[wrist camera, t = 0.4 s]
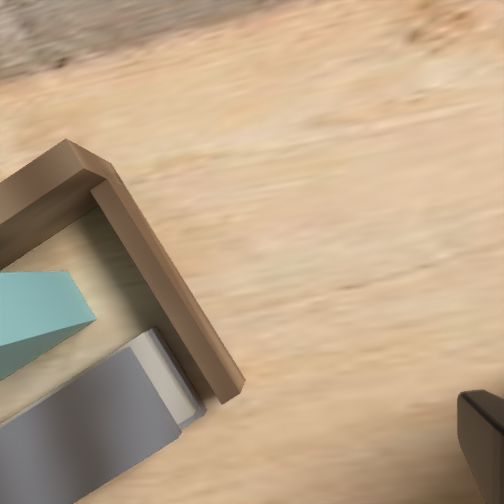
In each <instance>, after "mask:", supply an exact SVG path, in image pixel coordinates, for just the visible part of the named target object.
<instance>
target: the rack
mask: <svg viewBox="0 0 504 504" xmlns="http://www.w3.org/2000/svg"><path fill="white" fill-rule="evenodd" d="M98 205H99V206H100V208H101V209H102V211H103V212H104V214H105V216H106V217H107V219H108V221H109V222H110V224H111V225H112V227H113V229H114V230H115V232H116V234H117V235H118V237H119V238H120V240H121V242H122V243H123V245H124V247H125V248H126V250H127V251H128V253H129V255H130V256H131V258H132V260H133V261H134V263H135V264H136V266H137V268H138V269H139V271H140V273H141V274H142V276H143V277H144V279H145V281H146V282H147V284H148V286H149V287H150V289H151V290H152V292H153V294H154V295H155V297H156V299H157V300H158V302H159V303H160V305H161V307H162V308H163V310H164V312H165V313H166V315H167V316H168V318H169V320H170V321H171V323H172V325H173V326H174V328H175V329H176V331H177V333H178V334H179V336H180V338H181V339H182V341H183V342H184V344H185V346H186V347H187V349H188V351H189V352H190V354H191V355H192V357H193V359H194V360H195V362H196V364H197V365H198V367H199V368H200V370H201V372H202V373H203V375H204V377H205V378H206V380H207V381H208V383H209V385H210V386H211V388H212V390H213V391H214V393H215V394H216V396H217V398H218V399H219V401H220V403H221V404H224V403H226V402H227V401H229V400H230V399H232V398H234V397H235V396H237V395H238V394H240V393H241V390H242V388H243V385H244V383H245V381H246V380H245V378H244V377H243V375H242V373H241V372H240V370H239V368H238V367H237V365H236V364H235V362H234V360H233V359H232V357H231V356H230V354H229V352H228V351H227V349H226V348H225V346H224V344H223V343H222V341H221V340H220V338H219V336H218V335H217V333H216V331H215V330H214V328H213V327H212V325H211V323H210V322H209V320H208V319H207V317H206V315H205V314H204V312H203V311H202V309H201V307H200V306H199V304H198V303H197V301H196V299H195V298H194V296H193V294H192V293H191V291H190V290H189V288H188V286H187V285H186V283H185V282H184V280H183V278H182V277H181V275H180V274H179V272H178V270H177V269H176V267H175V266H174V264H173V262H172V261H171V259H170V257H169V256H168V254H167V253H166V251H165V249H164V248H163V246H162V245H161V243H160V241H159V240H158V238H157V237H156V235H155V233H154V232H153V230H152V229H151V227H150V225H149V224H148V222H147V221H146V219H145V217H144V216H143V214H142V212H141V211H140V209H139V208H138V206H137V204H136V203H135V201H134V200H133V198H132V196H131V195H130V193H129V192H128V190H127V188H126V187H125V185H124V184H123V182H122V180H121V179H120V177H119V175H118V174H117V172H116V171H115V169H114V167H113V166H112V164H111V163H109V162H108V161H106V160H104V159H102V158H100V157H99V156H97V155H95V154H93V153H91V152H89V151H88V150H86V149H84V148H82V147H80V146H79V145H77V144H75V143H73V142H71V141H69V140H68V139H64V140H63V141H61V142H60V143H58V144H57V145H56V146H54V147H53V148H51V149H50V150H48V151H47V152H45V153H44V154H42V155H41V156H39V157H38V158H36V159H35V160H33V161H32V162H30V163H29V164H27V165H26V166H25V167H23V168H22V169H20V170H19V171H17V172H16V173H14V174H13V175H11V176H10V177H8V178H7V179H5V180H4V181H2V182H1V183H0V270H2V269H3V268H5V267H6V266H8V265H9V264H11V263H12V262H14V261H15V260H17V259H18V258H20V257H21V256H23V255H24V254H26V253H27V252H29V251H30V250H32V249H33V248H35V247H36V246H38V245H39V244H41V243H42V242H44V241H45V240H47V239H48V238H50V237H51V236H53V235H54V234H56V233H57V232H59V231H60V230H62V229H63V228H65V227H66V226H68V225H69V224H71V223H72V222H74V221H75V220H77V219H78V218H80V217H81V216H83V215H84V214H86V213H88V212H89V211H91V210H92V209H94V208H95V207H97V206H98Z"/></svg>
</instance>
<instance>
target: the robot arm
mask: <svg viewBox="0 0 504 504" xmlns="http://www.w3.org/2000/svg"><path fill="white" fill-rule="evenodd" d="M457 433H458V439H459V443H460V446H461V448H462V451H463V453H464V455H465V457H466V460H467V462H468V464H469V466H470V469H471V471H472V473H473V475H474V477H475V480H476V482H477V484H478V486H479V489H480V491H481V493H482V495H483V498H484V500H485V502H486V504H504V399H503V398H500V397H498V396H496V395H494V394H492V393H490V392H488V391H485V390H472V391H464V392H461V393H460V394H459V395H458V398H457Z"/></svg>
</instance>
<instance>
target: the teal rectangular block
mask: <svg viewBox="0 0 504 504" xmlns="http://www.w3.org/2000/svg"><path fill="white" fill-rule="evenodd" d="M94 320H96V317H95V316H94V314H93V312H92V311H91V309H90V307H89V306H88V304H87V302H86V301H85V299H84V297H83V296H82V294H81V292H80V291H79V289H78V287H77V286H76V284H75V282H74V281H73V279H72V277H71V276H70V274H69V272H68V271H37V272H2V273H0V380H3V379H5V378H6V377H8V376H9V375H11V374H12V373H14V372H15V371H17V370H19V369H20V368H22V367H23V366H25V365H26V364H28V363H29V362H31V361H32V360H34V359H36V358H37V357H39V356H40V355H42V354H43V353H45V352H46V351H48V350H49V349H51V348H53V347H54V346H56V345H57V344H59V343H60V342H62V341H63V340H65V339H67V338H68V337H70V336H71V335H73V334H74V333H76V332H77V331H79V330H80V329H82V328H84V327H85V326H87V325H88V324H90V323H91V322H93V321H94Z"/></svg>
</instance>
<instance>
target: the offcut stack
mask: <svg viewBox="0 0 504 504" xmlns="http://www.w3.org/2000/svg"><path fill="white" fill-rule="evenodd" d="M206 411H207V409H206V407H205V406H204V404H203V402H202V401H201V399H200V397H199V396H198V394H197V393H196V391H195V389H194V388H193V386H192V384H191V383H190V381H189V379H188V378H187V376H186V375H185V373H184V371H183V370H182V368H181V366H180V365H179V363H178V361H177V360H176V358H175V357H174V355H173V353H172V352H171V350H170V348H169V347H168V345H167V344H166V342H165V340H164V339H163V337H162V335H161V334H160V332H159V330H158V329H157V327H153V328H151V329H150V330H148V331H146V332H144V333H142V334H141V335H139V336H137V337H136V338H134V339H133V340H131V341H130V342H128V343H126V344H125V345H123V346H122V347H120V348H119V349H117V350H116V351H114V352H112V353H111V354H109V355H108V356H106V357H105V358H103V359H101V360H100V361H98V362H97V363H95V364H94V365H92V366H91V367H89V368H87V369H86V370H84V371H83V372H81V373H80V374H78V375H76V376H75V377H73V378H72V379H70V380H69V381H67V382H66V383H64V384H62V385H61V386H59V387H58V388H56V389H55V390H53V391H51V392H50V393H48V394H47V395H45V396H44V397H42V398H41V399H39V400H37V401H36V402H34V403H33V404H31V405H30V406H28V407H26V408H25V409H23V410H22V411H20V412H19V413H17V414H16V415H14V416H12V417H11V418H9V419H8V420H6V421H5V422H3V423H1V424H0V504H73V503H74V502H76V501H78V500H79V499H81V498H82V497H84V496H86V495H87V494H89V493H90V492H92V491H94V490H95V489H97V488H98V487H100V486H102V485H103V484H105V483H107V482H108V481H110V480H111V479H113V478H115V477H116V476H118V475H119V474H121V473H123V472H124V471H126V470H127V469H129V468H131V467H132V466H134V465H136V464H137V463H139V462H140V461H142V460H144V459H145V458H147V457H148V456H150V455H152V454H153V453H155V452H156V451H158V450H160V449H161V448H163V447H165V446H166V445H168V444H169V443H171V442H173V441H174V440H176V439H177V438H178V437H179V436H180V434H181V433H182V431H181V429H182V428H184V427H186V426H187V425H189V424H190V423H192V422H194V421H195V420H197V419H198V418H200V417H202V416H203V415H204V414H205V413H206Z"/></svg>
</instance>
